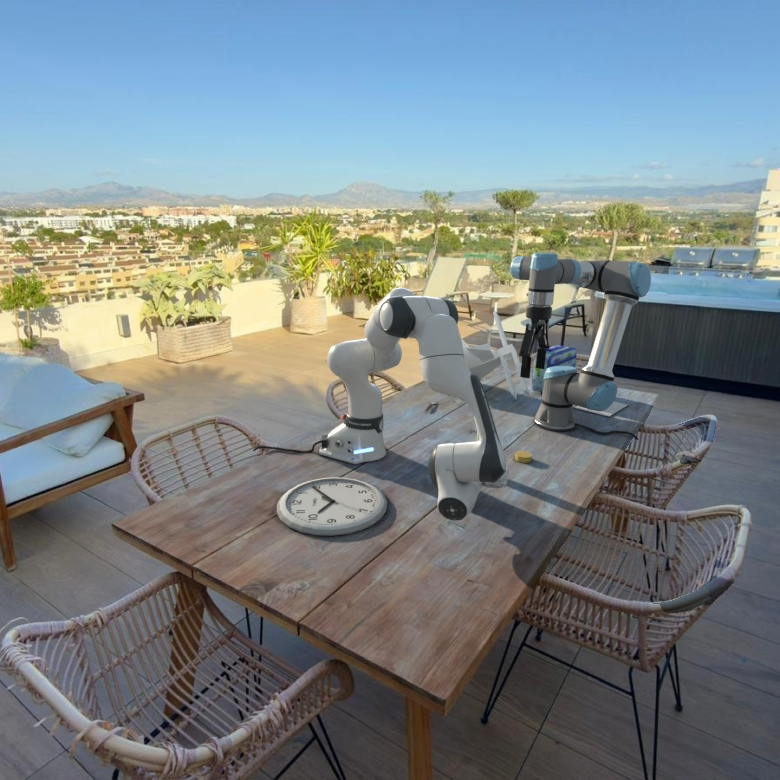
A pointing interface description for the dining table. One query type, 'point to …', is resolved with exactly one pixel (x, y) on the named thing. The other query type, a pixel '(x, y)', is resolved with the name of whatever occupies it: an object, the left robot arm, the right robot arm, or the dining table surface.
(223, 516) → the dining table surface
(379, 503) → the wall clock
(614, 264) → the right robot arm
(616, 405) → the invitation card
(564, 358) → the lunch box
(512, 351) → the white plastic object
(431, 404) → the fork
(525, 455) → the lid
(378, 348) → the left robot arm
